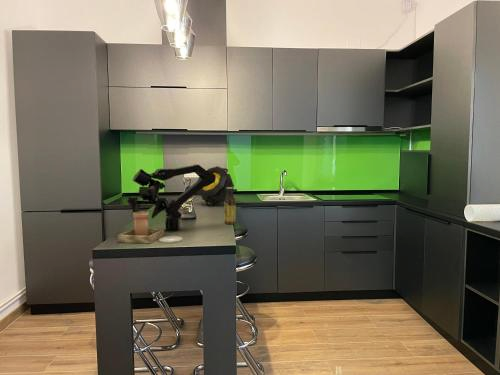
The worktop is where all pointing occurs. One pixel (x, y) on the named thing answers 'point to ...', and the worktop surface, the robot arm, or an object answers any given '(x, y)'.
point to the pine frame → (132, 238)
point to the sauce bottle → (229, 207)
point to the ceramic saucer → (170, 239)
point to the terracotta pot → (141, 223)
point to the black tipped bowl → (217, 187)
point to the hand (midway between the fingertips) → (142, 217)
